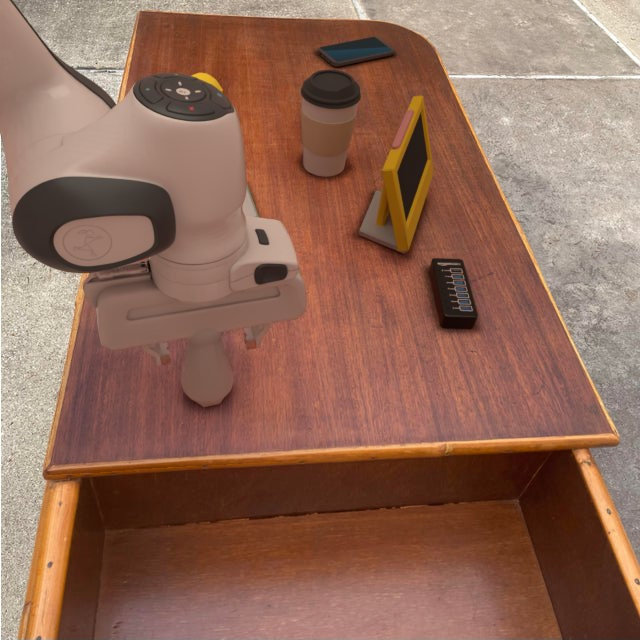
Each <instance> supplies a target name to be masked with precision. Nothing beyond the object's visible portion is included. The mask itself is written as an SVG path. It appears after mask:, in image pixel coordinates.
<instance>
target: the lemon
mask: <svg viewBox="0 0 640 640" xmlns="http://www.w3.org/2000/svg"><path fill="white" fill-rule="evenodd" d="M191 76H193V77H196V78H198V79H200V80H203V81H205V82H207V83H209V84H212V85H213V86H215V87H216V88H217V89H219V90H220V91H221V92H222V93H223V94H224V89H223V88H222V86H221V85H220V83H219V82H218V80H217V79H216V78H215V77H214V76H212V75H211V74H208V73H205V72H197V73H194V74H192V75H191Z"/></svg>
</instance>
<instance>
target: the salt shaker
mask: <svg viewBox="0 0 640 640" xmlns="http://www.w3.org/2000/svg"><path fill="white" fill-rule="evenodd" d="M223 333H224V332H218V331H217V330H215V329H205V330H201V331H198V332H196V333H195V334H194V335H193V336H192V337H190V338H185V339H186V340H187V343H186V349H185V353H184V360H183V366H182V369H181V370H182V371H181V377H180V383H181V388H182V391H183V393H185V395H187V397H188V398H189V399H190V400H191V401H193V402H195V403H197V404H198V405H199V406H201V407H203V408H206V407H207V408H208V407H212V406H217V405H220V404H221V403H222V401H223V400H224V398H225V397H227V395H228V394H229V393H230V392H231V391H232V388H233V386H234V381H235V375H234V373H233V369H232V367H231V363H230V360H229V358H228V355H227V351H226V348H225V346H224V343H223V340H222V336H223Z"/></svg>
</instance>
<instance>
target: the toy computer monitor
mask: <svg viewBox="0 0 640 640" xmlns="http://www.w3.org/2000/svg"><path fill="white" fill-rule="evenodd" d="M425 105H426V104H425V98H424V96H423V95H421V94H420V95H413V97H412V99H411V101H410V103H409V105H408V108H407V110H406V112H405V113H404V116H403V118H402V121H401V123H400V126H399V128H398V130H397V133H396V134H395V137H394V139H393V142H392V144H391V149H390V150H389V153H388V155H387V157H386V160H385V162H384V164H383V167H382V169H381V174H382V179H383V183H382V187H381V190H379V189H377V190H375V191H374V194H373V196H372V199H371V200H370V203H369V205H368V209H367V211H366V213H365V215H364V218H363V221H362V223H361V226H360V227H359V231H358V235H359V236H360V237H362V238H365V239H367V240H369V241H371V242H375V243H377V244H380V245H382V246H384V247H386V248H389V249H392V250H394V251H396V252H399V253H401V254H403V255H405V254H407V252H408V251H409V250H410V247H411V245H412V241H413V238H414V235H415V232H416V229H417V226H418V223H419V220H420V217H421V213H422V211H423V208H424V204H425V201H426V198H427V195H428V192H429V190H430V187H431V183H432V180H433V176H434V174H435V170H434V163H433V154H432V148H431V141H430V135H429V127H428V119H427V113H426V106H425Z"/></svg>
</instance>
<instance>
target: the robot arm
mask: <svg viewBox="0 0 640 640" xmlns="http://www.w3.org/2000/svg"><path fill="white" fill-rule="evenodd" d="M243 135H244V134H243V129H242V126H241V121H240V118H239V114H238V112H237V109H236V107H235V106H234V105H233V103H232V102H231V100H230V99H229V97H227V96H226V94H224V92H223V93H222V92H221V91H220V90H219V89H217V88H216V87H215V86H213V85H212V84H209V83H207V82H205V81H203V80H200V79H198V78H196V77H193V76H192V75H189V74H184V73H178V72H161V73H153V74H149V75H146V76H143V77H141V78H139V79H137V81H135V82H134V83H133V85H132V87H131V88H130V89H129V91H128V92H127V94H126V95H125V96H124V97H123V98H122V99H121V100H120V101H119V102H117V103H116V101H115V100H114V99H113V98H112V96H111V95H110V94H109V93H108V92H107V91H106V90H105V89H103V88H102V87H101V86H100V85H98V84H97V83H96V82H95V81H93V80H92V79H90V78H88V77H87V76H85V75H84V74H82V73H81V72H79V71H78V70H76V69H75V68H73V66H72V67H71V66H70V65H69V64H68V63H66V62H65V61H64V60H63V59H61V58H60V57H59V56H58V55H57V54H55V52H54V51H53V50H52V49H51V48H50V47H49V46H48V44H46V42H45V41H44V40H43V39H42V37H41V35H40V34H39V33H38V32H37V30H36V29H35V27H33V25H32V24H31V23H30V21H29V20H28V19H27V17H26V16H25V15H24V14H23V12H22V11H21V9H20V8H19V7H18V6H17V4H16V3H15V2H14V0H0V138H1V143H2V146H3V149H4V156H5V157H4V159H5V167H6V175H7V189H8V190H7V192H8V199H9V208H10V215H11V224H12V225H11V226H12V231H13V235H14V237H15V240H16V241H17V243H18V244H19V246H20V247H21V248H22V249H23V251H24V252H25V253H27V254H28V255H29V257H31V258H33V259H34V260H35V261H37V262H38V263H41V264H43V265H44V266H46V267H49V268H52V269H54V270H57V271H60V272H65V273H70V274H90V275H88V276H87V277H86V278H85V279H84V280H83V283H82V290H83V291H82V292H83V294H84V298H85V300H86V302H87V303H88V305H90V306H91V307H93V308H95V310H96V312H95V313H96V323H97V331H98V337H99V342H100V345H101V346H103V347H104V348H106V349H108V350H110V351H120V350H125V349H132V348H137V347H141V350H142V351H143V352H145V353H146V354H147V355H149V356H151V358H155V359H154V360H155V364H156V367H162V366H166V365H167V366H168V365H171V364H172V361H171V354H170V348H169V343H168V342H172V341H177V340H184V339H186V338H190V337H192V336H193V335H194V334H195V333H196V332H198V331H201V330H205V329H215V330H217V331H218V332H223V333H225V332H230V331H235V330H242V329H243V341H244V345H245V349H246V350H247V351H250V350H256V349H261V346H262V345H261V341H262V340H261V339H263V338H264V337H265V335H266V334H267V333H268V332H269V331H270V329H271V328H272V324H277V323H282V322H289V321H295V320H298V319H299V318H301V317H302V316H303V315H304V314H305V313H306V311H307V306H308V305H307V303H308V302H307V289H306V285H305V283H306V282H305V281H304V278H303V274H302V273H301V270H300V264H299V259H298V254H297V252H296V248H295V246H294V243H293V240H292V238H291V236H290V234H289V231H288V230H287V228H286V226H285V225H284V223H283V222H282V221H281V220H278V219H273V218H267V217H260V216H259V217H253V216H247V215H244V212H243V209H242V206H243V203H244V200H245V197H246V190H247V185H248V182H247V164H246V152H245V142H244V136H243ZM146 259H147V260H146ZM143 260H144V261H143Z"/></svg>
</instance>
